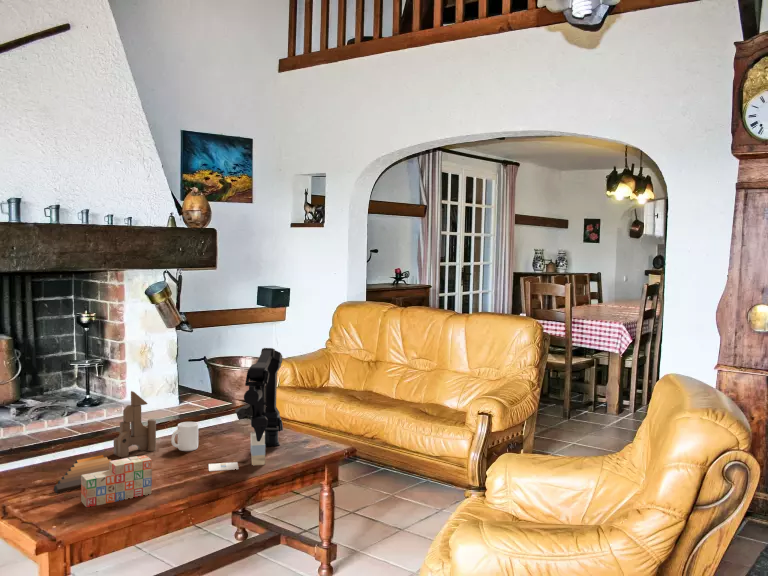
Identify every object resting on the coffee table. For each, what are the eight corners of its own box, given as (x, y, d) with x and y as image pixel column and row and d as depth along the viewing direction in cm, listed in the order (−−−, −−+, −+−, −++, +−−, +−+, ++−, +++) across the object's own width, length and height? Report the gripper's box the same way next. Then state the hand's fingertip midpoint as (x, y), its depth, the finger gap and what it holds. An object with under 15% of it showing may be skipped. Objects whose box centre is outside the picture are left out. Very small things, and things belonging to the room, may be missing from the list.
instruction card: (208, 464, 265) (208, 463, 265) (237, 462, 268) (237, 462, 268) (208, 471, 258) (208, 470, 258) (238, 469, 261) (238, 468, 261)
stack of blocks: (86, 508, 221) (85, 470, 220) (81, 502, 226) (80, 465, 225) (152, 494, 234) (152, 459, 233) (145, 488, 239) (145, 454, 238)
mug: (176, 454, 277) (176, 429, 276) (165, 450, 282) (165, 425, 282) (202, 448, 286) (202, 424, 285) (190, 444, 291) (190, 420, 291)
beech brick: (251, 461, 270) (251, 451, 270) (264, 460, 271) (264, 451, 271) (251, 465, 265) (252, 455, 265) (265, 464, 267) (265, 454, 266)
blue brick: (250, 452, 270) (250, 442, 269) (263, 451, 271) (263, 441, 271) (252, 455, 265) (252, 445, 265) (265, 454, 267) (265, 444, 266)
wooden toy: (120, 458, 271) (119, 396, 270) (113, 454, 276) (112, 393, 275) (157, 450, 282) (157, 390, 280) (150, 446, 287) (150, 388, 285)
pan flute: (57, 495, 232) (129, 478, 250) (57, 485, 232) (129, 469, 250) (32, 476, 250) (101, 462, 267) (32, 467, 250) (101, 453, 267)
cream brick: (250, 442, 270) (250, 432, 269) (263, 441, 271) (263, 431, 271) (251, 445, 265) (251, 435, 264) (264, 444, 266) (264, 434, 266)
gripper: (235, 394, 274) (235, 432, 275) (237, 405, 256) (237, 446, 257) (263, 393, 276) (263, 431, 278) (268, 403, 259) (267, 444, 260)
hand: (257, 437), depth 268 cm, fingers open, 9 cm apart
